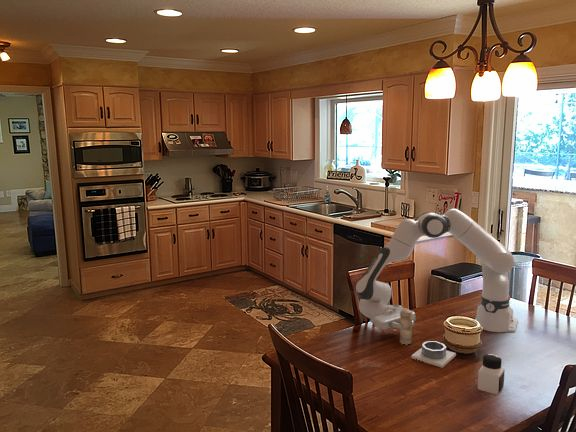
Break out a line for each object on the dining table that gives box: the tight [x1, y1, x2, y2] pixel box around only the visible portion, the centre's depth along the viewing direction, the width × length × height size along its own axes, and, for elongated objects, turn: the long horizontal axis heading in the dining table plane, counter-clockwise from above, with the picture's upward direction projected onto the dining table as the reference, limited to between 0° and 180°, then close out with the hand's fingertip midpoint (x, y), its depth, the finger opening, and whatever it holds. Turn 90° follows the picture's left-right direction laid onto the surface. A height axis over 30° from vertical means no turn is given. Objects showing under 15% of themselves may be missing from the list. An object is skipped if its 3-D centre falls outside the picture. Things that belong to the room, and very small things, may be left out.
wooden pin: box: [399, 309, 413, 346], centre depth 207 cm, size 5×5×14 cm
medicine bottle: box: [477, 353, 505, 396], centre depth 169 cm, size 7×7×12 cm
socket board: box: [411, 340, 457, 369], centre depth 194 cm, size 13×13×5 cm
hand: (407, 325), depth 206 cm, fingers closed on wooden pin, 5 cm apart
